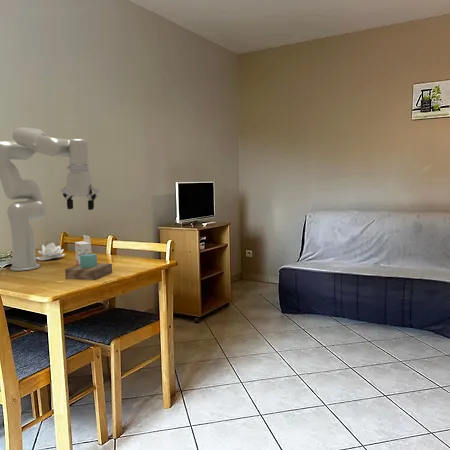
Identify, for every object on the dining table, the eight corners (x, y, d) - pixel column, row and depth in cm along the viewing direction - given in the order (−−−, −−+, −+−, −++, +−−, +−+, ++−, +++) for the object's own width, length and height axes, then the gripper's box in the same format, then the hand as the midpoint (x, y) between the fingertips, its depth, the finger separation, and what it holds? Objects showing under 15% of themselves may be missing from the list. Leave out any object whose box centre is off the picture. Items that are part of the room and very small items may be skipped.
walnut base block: (65, 278, 172) (65, 269, 172) (84, 271, 186) (83, 262, 185) (96, 280, 169) (95, 270, 169) (112, 272, 183) (111, 263, 182)
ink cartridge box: (75, 266, 198) (73, 235, 197) (85, 264, 202) (83, 234, 200) (82, 268, 192) (80, 237, 190) (92, 267, 195) (91, 236, 194)
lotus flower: (29, 260, 214) (28, 244, 213) (51, 255, 228) (50, 240, 227) (50, 262, 209) (49, 245, 208) (71, 257, 223) (70, 241, 222)
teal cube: (80, 267, 175) (79, 256, 175) (86, 265, 180) (86, 253, 179) (91, 267, 174) (90, 256, 174) (97, 265, 179) (96, 254, 178)
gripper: (55, 168, 171) (57, 209, 173) (93, 169, 168) (94, 210, 170) (66, 168, 179) (67, 208, 181) (102, 169, 175) (103, 209, 177)
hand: (80, 209), depth 175 cm, fingers open, 9 cm apart
